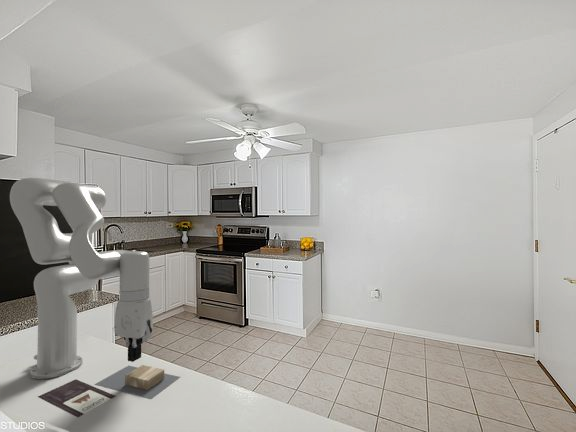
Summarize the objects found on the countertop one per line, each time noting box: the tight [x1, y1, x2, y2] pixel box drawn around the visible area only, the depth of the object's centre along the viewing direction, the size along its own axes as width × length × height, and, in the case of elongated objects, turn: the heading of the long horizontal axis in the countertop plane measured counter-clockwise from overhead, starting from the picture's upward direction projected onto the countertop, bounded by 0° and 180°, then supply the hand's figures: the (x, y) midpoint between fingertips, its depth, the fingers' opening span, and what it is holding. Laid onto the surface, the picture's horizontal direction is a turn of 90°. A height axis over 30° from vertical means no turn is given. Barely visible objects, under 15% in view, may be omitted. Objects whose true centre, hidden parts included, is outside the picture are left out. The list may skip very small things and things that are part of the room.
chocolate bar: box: [37, 379, 116, 418], centre depth 74 cm, size 9×1×18 cm
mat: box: [94, 364, 181, 400], centre depth 82 cm, size 20×11×1 cm, turn 71°
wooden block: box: [125, 364, 165, 390], centre depth 81 cm, size 3×6×8 cm
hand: (134, 359), depth 82 cm, fingers closed
